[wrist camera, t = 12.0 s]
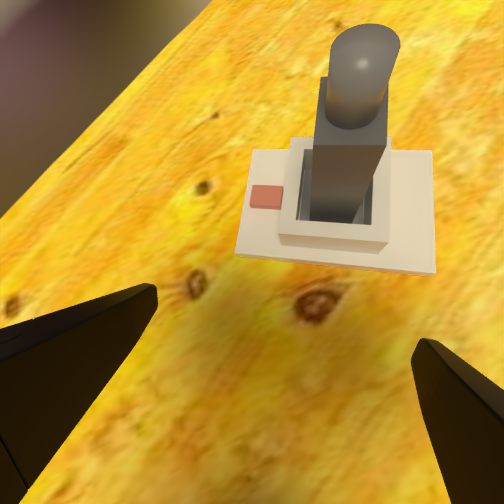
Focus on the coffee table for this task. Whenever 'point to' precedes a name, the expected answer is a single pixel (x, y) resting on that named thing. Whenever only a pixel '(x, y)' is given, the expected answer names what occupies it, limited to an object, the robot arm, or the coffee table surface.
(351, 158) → the plug
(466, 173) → the coffee table surface
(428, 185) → the socket board
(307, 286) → the coffee table surface
